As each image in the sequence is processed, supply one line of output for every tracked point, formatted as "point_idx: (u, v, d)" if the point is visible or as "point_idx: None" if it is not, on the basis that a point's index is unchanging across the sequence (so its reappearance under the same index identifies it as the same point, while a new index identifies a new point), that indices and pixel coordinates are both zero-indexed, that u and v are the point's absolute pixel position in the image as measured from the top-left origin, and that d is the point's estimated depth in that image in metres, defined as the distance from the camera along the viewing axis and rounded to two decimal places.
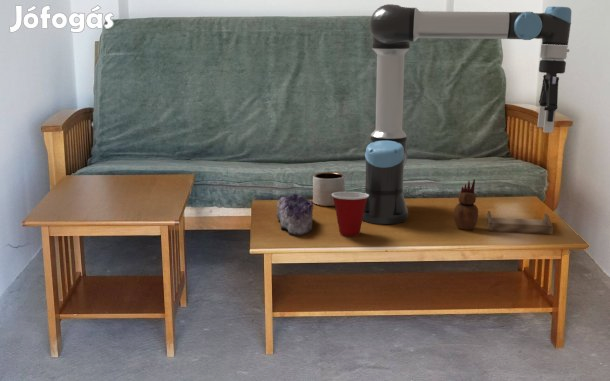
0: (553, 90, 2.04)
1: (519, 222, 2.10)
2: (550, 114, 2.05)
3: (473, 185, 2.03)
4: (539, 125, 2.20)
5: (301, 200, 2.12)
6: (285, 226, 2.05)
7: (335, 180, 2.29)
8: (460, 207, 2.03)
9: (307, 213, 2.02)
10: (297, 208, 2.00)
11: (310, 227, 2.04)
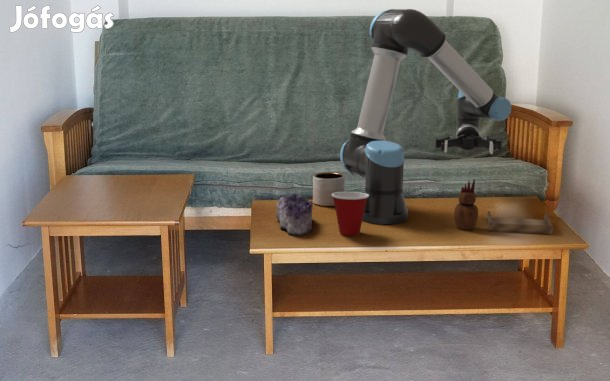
0: None
1: (519, 222, 2.10)
2: None
3: (473, 185, 2.03)
4: (447, 145, 2.13)
5: (300, 200, 2.12)
6: (284, 226, 2.05)
7: (335, 180, 2.29)
8: (460, 207, 2.03)
9: (306, 213, 2.02)
10: (296, 208, 2.00)
11: (309, 227, 2.04)
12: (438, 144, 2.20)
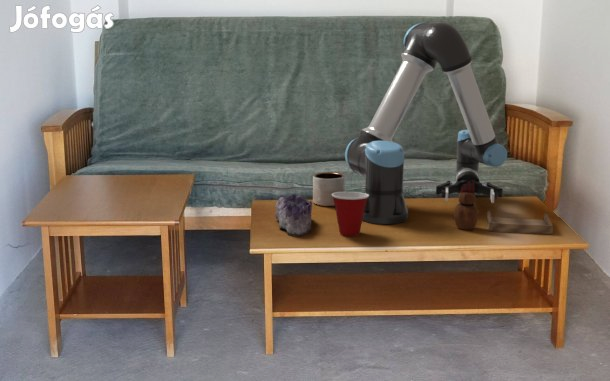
0: None
1: (519, 222, 2.10)
2: None
3: (473, 185, 2.03)
4: (448, 193, 2.12)
5: (300, 200, 2.11)
6: (284, 226, 2.05)
7: (335, 180, 2.29)
8: (460, 207, 2.03)
9: (306, 213, 2.02)
10: (296, 208, 2.00)
11: (309, 227, 2.04)
12: (439, 191, 2.19)
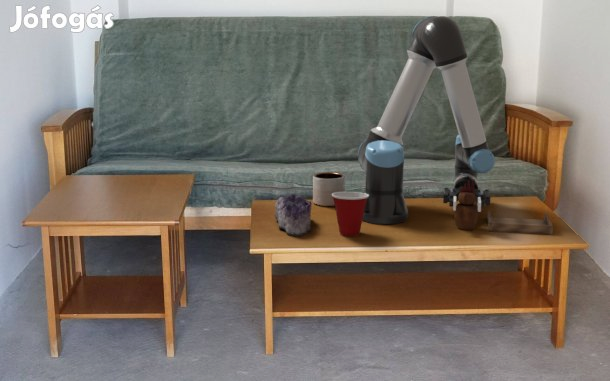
0: None
1: (519, 222, 2.10)
2: None
3: (473, 185, 2.03)
4: None
5: (299, 200, 2.11)
6: (283, 226, 2.05)
7: (335, 180, 2.29)
8: (460, 207, 2.03)
9: (305, 213, 2.02)
10: (295, 208, 2.00)
11: (308, 227, 2.04)
12: (447, 199, 2.08)
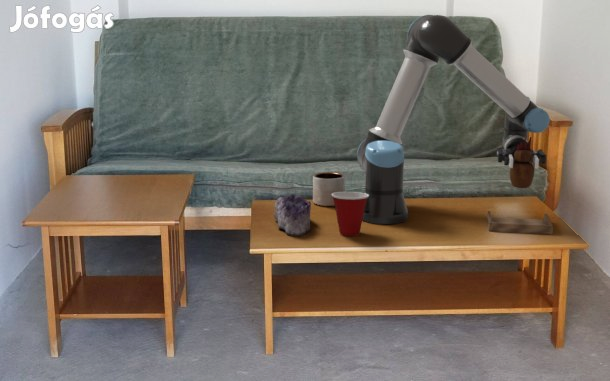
0: None
1: (519, 222, 2.10)
2: None
3: (529, 143, 2.01)
4: (513, 160, 1.99)
5: (299, 200, 2.11)
6: (283, 226, 2.04)
7: (335, 180, 2.29)
8: (516, 165, 2.02)
9: (305, 213, 2.02)
10: (295, 208, 2.00)
11: (308, 227, 2.03)
12: (502, 158, 2.06)
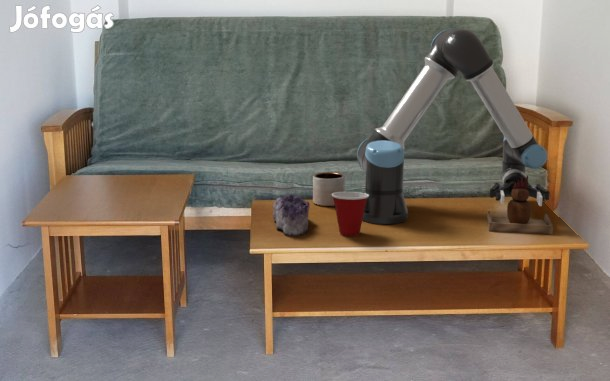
0: None
1: None
2: None
3: (526, 181, 2.04)
4: None
5: (297, 201, 2.11)
6: (281, 227, 2.04)
7: (335, 180, 2.29)
8: (513, 203, 2.05)
9: (302, 214, 2.02)
10: (292, 209, 2.00)
11: (306, 228, 2.03)
12: (493, 194, 2.10)
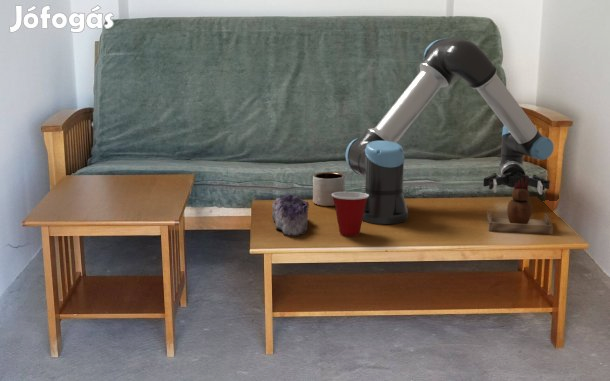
0: None
1: None
2: None
3: (527, 181, 2.04)
4: (496, 185, 2.17)
5: (296, 201, 2.11)
6: (280, 227, 2.04)
7: (335, 180, 2.29)
8: (514, 203, 2.05)
9: (302, 214, 2.02)
10: (292, 209, 2.00)
11: (305, 228, 2.03)
12: (486, 183, 2.24)
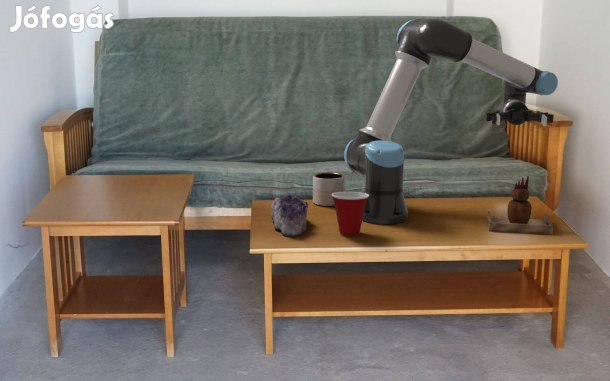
0: None
1: None
2: None
3: (527, 181, 2.04)
4: (500, 118, 2.13)
5: (295, 201, 2.11)
6: (279, 227, 2.04)
7: (335, 180, 2.29)
8: (514, 203, 2.05)
9: (301, 214, 2.02)
10: (291, 209, 1.99)
11: (304, 228, 2.03)
12: (489, 118, 2.20)
